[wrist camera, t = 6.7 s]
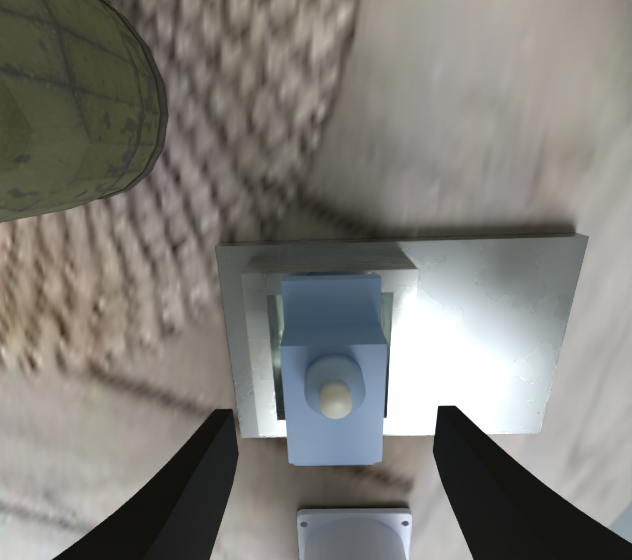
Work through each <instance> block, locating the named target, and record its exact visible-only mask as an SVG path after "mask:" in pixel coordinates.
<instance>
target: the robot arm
mask: <svg viewBox="0 0 632 560" xmlns="http://www.w3.org/2000/svg"><path fill="white" fill-rule="evenodd" d="M433 454H434V457H435V461H436V465H437V468H438V472H439V475H440V478H441V482H442V484H443V487H444V489H445V492H446V494H447V497H448V499H449V501H450V504H451V506H452V509H453V511H454V514H455V516H456V518H457V521H458V523H459V526H460V528H461V530H462V533H463V535H464V538H465V540H466V542H467V545H468V547H469V550H470V552H471V554H472V557H473V560H632V543H630V542H628V541H627V540H625V539H623V538H622V537H620V536H619V535H617V534H615V533H614V532H612V531H611V530H609V529H608V528H606V527H605V526H603V525H602V524H600V523H599V522H597V521H595V520H594V519H592V518H591V517H589V516H588V515H586V514H585V513H584V512H582V511H581V510H579V509H578V508H576V507H575V506H573V505H572V504H571V503H569V502H568V501H567V500H565V499H564V498H562V497H561V496H560V495H558V494H557V493H556V492H554V491H553V490H552V489H550V488H549V487H548V486H546V485H545V484H544V483H542V482H541V481H540V480H539V479H537V478H536V477H535V476H534V475H532V474H531V473H530V472H529V471H528V470H526V469H525V468H524V467H523V466H521V465H520V464H519V463H518V462H517V461H515V460H514V459H513V458H512V457H511V456H510V455H509V454H507V453H506V452H505V451H504V450H503V449H502V448H501V447H500V446H498V445H497V444H496V443H495V442H494V441H493V440H492V439H491V438H490V437H489V436H487V435H486V434H485V433H484V432H483V431H482V430H481V429H480V428H479V427H478V426H477V425H476V424H475V423H474V422H473V421H472V420H471V419H470V418H468V417H467V416H466V415H465V414H464V413H463V412H462V411H461V410H460V409H459V408H458V407H457V406H456V405H441V406H438V409H437V418H436V427H435V436H434V445H433ZM238 455H239V453H238V445H237V438H236V431H235V424H234V417H233V409H215V410H214V411H213V412H212V413H211V414H210V416H209V417H208V418H207V419H206V420H205V421H204V423H203V424H202V425H201V426H200V427H199V428H198V430H197V431H196V432H195V433H194V434H193V435H192V436H191V438H190V439H189V440H188V441H187V442H186V443H185V444H184V445H183V446H182V448H181V449H180V450H179V451H178V452H177V453H176V454H175V455H174V456H173V457H172V458H171V460H170V461H169V462H168V463H167V464H166V465H165V466H164V467H163V468H162V469H161V470H160V471H159V472H158V473H157V474H156V475H155V476H154V477H153V478H152V479H151V480H150V481H149V482H148V483H147V484H146V485H145V486H143V487H142V488H141V489H140V490H139V491H138V492H137V493H136V494H135V495H134V496H133V497H132V498H130V499H129V500H128V501H127V502H126V503H125V504H124V505H122V506H121V507H120V508H119V509H118V510H117V511H115V512H114V513H113V514H112V515H110V516H109V517H108V518H107V519H105V520H104V521H103V522H102V523H100V524H99V525H98V526H96V527H95V528H94V529H93V530H91V531H90V532H89V533H88V534H86V535H85V536H84V537H83V538H81V539H80V540H79V541H77V542H76V543H74V544H73V545H72V546H70V547H69V548H68V549H66V550H65V551H63V552H62V553H61V554H59V555H58V556H56V557H55V558H53V559H52V560H210V556H211V553H212V550H213V547H214V543H215V540H216V537H217V534H218V531H219V527H220V524H221V521H222V518H223V515H224V511H225V508H226V505H227V502H228V498H229V495H230V492H231V489H232V485H233V481H234V476H235V471H236V466H237V460H238ZM412 520H413V516H412V512H411V510H409V509H407V508H364V509H302V510H299V511H298V512H297V531H298V545H299V559H300V560H409V551H410V540H411V530H412Z"/></svg>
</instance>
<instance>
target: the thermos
mask: <svg viewBox="0 0 632 560" xmlns="http://www.w3.org/2000/svg"><path fill="white" fill-rule="evenodd" d="M167 121H168V111H167V104H166V97H165V90H164V83H163V80H162V78H161V75H160V73H159V71H158V68H157V66H156V64H155V61H154V59H153V57H152V54H151V52H150V50H149V47H148V46H147V45H146V44H145V42H144V41H143V40H142V38H141V37H140V36H139V35H138V33H137V32H136V31H135V29H134V28H133V27H132V25H131V24H130V23H129V22H128V20H127V19H126V18H125V17H124V16H123V15H122V14H120V13H119V12H118V11H116V10H115V9H114V8H112V7H111V6H110V5H108V4H107V3H106V2H104V1H103V0H0V223H1V222H6V221H11V220H16V219H21V218H26V217H31V216H36V215H42V214H47V213H52V212H57V211H62V210H67V209H72V208H74V207H77V206H80V205H82V204H85V203H88V202H90V201H93V200H96V199H104V198H108V197H111V196H114V195H117V194H119V193H122V192H125V191H127V190H130V189H132V188H133V187H134V186H135V185H136V184H138V183H139V182H140V181H141V180H142V179H143V178H144V177H145V176H147V175H148V174H149V173H150V172H151V171H152V169H153V167H154V165H155V163H156V161H157V159H158V157H159V155H160V153H161V151H162V149H163V147H164V142H165V135H166V128H167Z"/></svg>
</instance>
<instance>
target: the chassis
mask: <svg viewBox="0 0 632 560" xmlns="http://www.w3.org/2000/svg"><path fill="white" fill-rule="evenodd" d="M588 238H589V236H585V235H582V234H578V233H561V234H524V235H487V236H450V237H413V238H377V239H340V240H303V241H266V242H229V243H219V244H218V245H217V246H215V248H216V256H217V263H218V271H219V278H220V285H221V293H222V300H223V307H224V315H225V322H226V329H227V337H228V344H229V352H230V359H231V366H232V374H233V381H234V388H235V396H236V403H237V410H238V418H239V425H240V432H241V438H265V437H287V433H286V421H285V408H284V395H283V382H282V369H281V356H280V343H281V338H282V334H283V329H284V317H283V303H282V289H281V280H282V277H288V276H328V275H367V274H380V276H381V278H382V286H381V312H380V325H381V328H382V331H383V333H384V336H385V339H386V342H387V363H386V384H385V405H384V426H383V436H394V435H435V427H436V418H437V409H438V406H441V405H456V406H457V407H458V408H459V409H460V410H461V411H462V412H463V413H464V414H465V415H466V416H467V417H468V418H470V419H471V420H472V421H473V422H474V423H475V424H476V425H477V426H478V427H479V428H480V429H481V430H482V431H483V432H484V433H485V434H524V433H540V429H541V425H542V421H543V417H544V413H545V409H546V405H547V401H548V397H549V393H550V389H551V385H552V381H553V378H554V374H555V370H556V366H557V362H558V358H559V354H560V350H561V346H562V342H563V338H564V334H565V330H566V326H567V322H568V318H569V314H570V310H571V306H572V302H573V298H574V294H575V290H576V286H577V282H578V278H579V274H580V270H581V266H582V262H583V258H584V254H585V250H586V246H587V242H588Z"/></svg>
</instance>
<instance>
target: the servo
mask: <svg viewBox="0 0 632 560" xmlns="http://www.w3.org/2000/svg"><path fill="white" fill-rule="evenodd" d="M381 286H382V278H381V276H380V274H367V275H328V276H288V277H282V280H281V289H282V303H283V317H284V329H283V334H282V338H281V343H280V356H281V369H282V382H283V395H284V408H285V421H286V433H287V446H288V459H289V463H294V466H318V465H375V462H382V447H383V426H384V405H385V384H386V363H387V342H386V339H385V336H384V333H383V331H382V328H381V325H380V312H381Z"/></svg>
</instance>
